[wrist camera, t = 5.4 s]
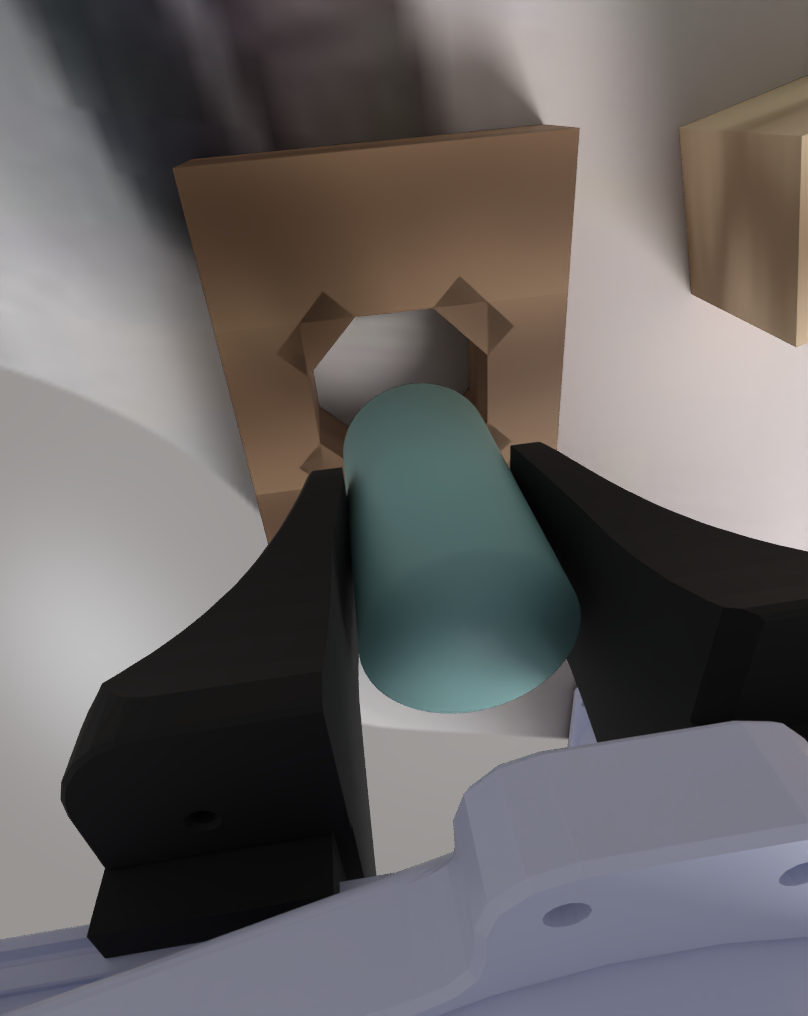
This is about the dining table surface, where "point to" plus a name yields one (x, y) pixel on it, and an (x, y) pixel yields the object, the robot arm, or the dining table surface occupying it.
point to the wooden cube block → (751, 210)
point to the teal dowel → (448, 558)
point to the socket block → (383, 277)
